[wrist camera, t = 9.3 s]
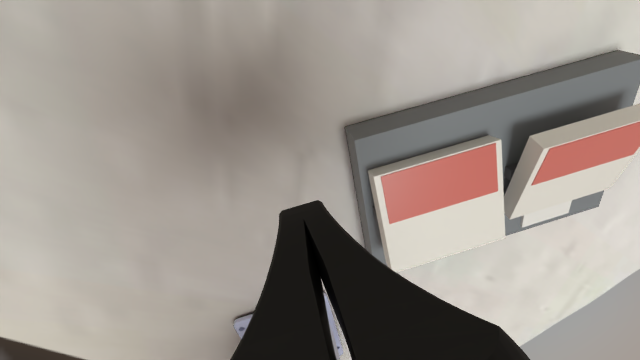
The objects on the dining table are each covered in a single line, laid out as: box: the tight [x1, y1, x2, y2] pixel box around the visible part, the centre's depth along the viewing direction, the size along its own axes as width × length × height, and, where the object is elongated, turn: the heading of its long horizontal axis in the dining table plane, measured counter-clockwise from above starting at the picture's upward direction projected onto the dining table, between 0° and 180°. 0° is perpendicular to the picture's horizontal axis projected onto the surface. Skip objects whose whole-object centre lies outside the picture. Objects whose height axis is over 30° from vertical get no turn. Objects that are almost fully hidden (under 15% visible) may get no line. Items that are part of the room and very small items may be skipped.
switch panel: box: [345, 50, 640, 266], centre depth 24 cm, size 12×19×3 cm, turn 101°
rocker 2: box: [504, 104, 640, 220], centre depth 23 cm, size 7×8×1 cm
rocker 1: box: [368, 135, 505, 273], centre depth 22 cm, size 7×8×1 cm
